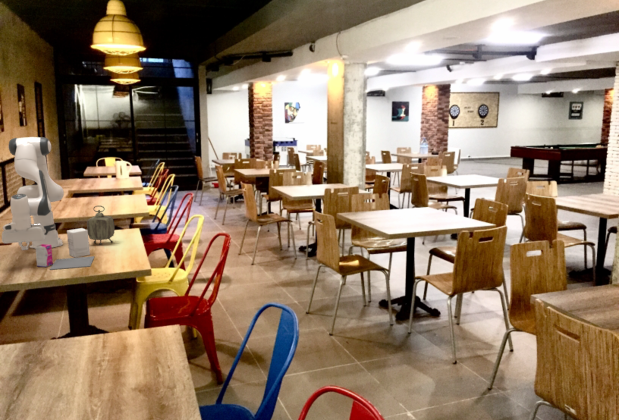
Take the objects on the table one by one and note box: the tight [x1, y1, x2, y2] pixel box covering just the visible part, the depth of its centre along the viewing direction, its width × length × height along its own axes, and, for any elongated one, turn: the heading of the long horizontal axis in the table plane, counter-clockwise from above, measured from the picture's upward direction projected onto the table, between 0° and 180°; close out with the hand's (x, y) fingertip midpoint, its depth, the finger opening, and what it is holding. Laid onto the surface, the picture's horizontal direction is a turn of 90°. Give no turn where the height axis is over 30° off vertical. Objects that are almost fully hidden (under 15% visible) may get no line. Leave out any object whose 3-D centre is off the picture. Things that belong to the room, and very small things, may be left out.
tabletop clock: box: [86, 205, 115, 246], centre depth 325 cm, size 14×9×25 cm, turn 92°
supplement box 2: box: [66, 227, 91, 258], centre depth 301 cm, size 9×9×15 cm
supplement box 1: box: [35, 244, 54, 268], centre depth 281 cm, size 6×6×12 cm
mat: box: [49, 255, 95, 271], centre depth 285 cm, size 20×20×1 cm
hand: (25, 249), depth 277 cm, fingers closed
